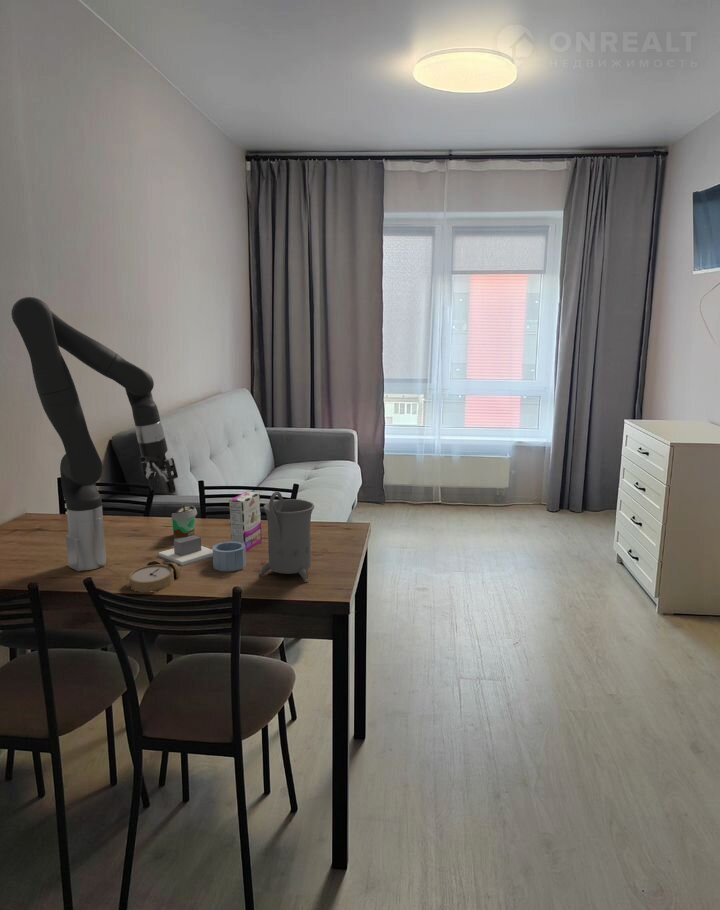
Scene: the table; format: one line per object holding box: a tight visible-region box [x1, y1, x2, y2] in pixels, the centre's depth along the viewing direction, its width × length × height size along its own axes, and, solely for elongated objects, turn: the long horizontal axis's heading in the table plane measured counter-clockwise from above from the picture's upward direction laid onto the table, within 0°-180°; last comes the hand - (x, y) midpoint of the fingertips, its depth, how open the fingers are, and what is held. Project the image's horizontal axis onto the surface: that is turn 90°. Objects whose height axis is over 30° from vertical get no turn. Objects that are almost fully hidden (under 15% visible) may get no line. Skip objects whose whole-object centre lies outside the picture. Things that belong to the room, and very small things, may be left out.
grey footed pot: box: [258, 490, 315, 583], centre depth 183 cm, size 19×15×25 cm
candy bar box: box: [228, 491, 263, 553], centre depth 207 cm, size 11×5×16 cm, turn 161°
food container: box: [171, 503, 198, 541], centre depth 216 cm, size 12×6×10 cm, turn 179°
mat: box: [154, 554, 213, 568], centre depth 200 cm, size 14×14×1 cm
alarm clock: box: [126, 560, 182, 593], centre depth 180 cm, size 11×5×15 cm
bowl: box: [211, 540, 247, 573], centre depth 191 cm, size 9×9×6 cm
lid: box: [158, 534, 213, 565], centre depth 199 cm, size 12×12×5 cm
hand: (163, 491), depth 199 cm, fingers open, 8 cm apart
